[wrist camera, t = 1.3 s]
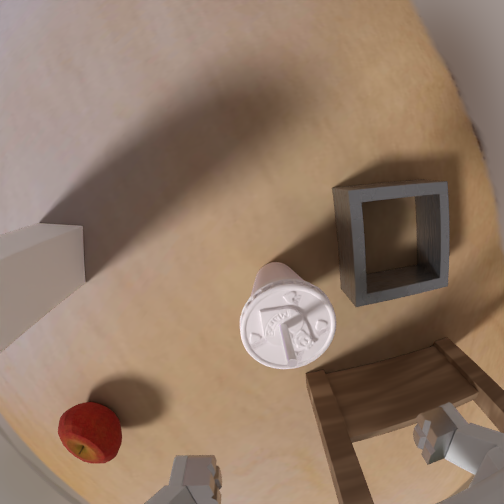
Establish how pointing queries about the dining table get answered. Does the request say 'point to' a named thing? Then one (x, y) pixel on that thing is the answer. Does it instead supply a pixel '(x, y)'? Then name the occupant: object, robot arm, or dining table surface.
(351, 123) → the dining table surface
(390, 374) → the green-topped frame
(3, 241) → the milk
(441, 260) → the socket
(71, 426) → the apple
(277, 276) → the smoothie
